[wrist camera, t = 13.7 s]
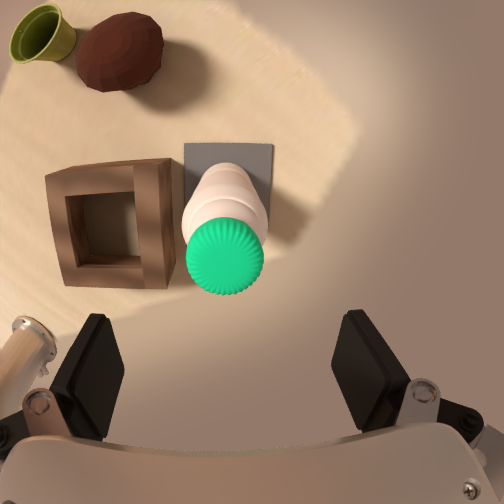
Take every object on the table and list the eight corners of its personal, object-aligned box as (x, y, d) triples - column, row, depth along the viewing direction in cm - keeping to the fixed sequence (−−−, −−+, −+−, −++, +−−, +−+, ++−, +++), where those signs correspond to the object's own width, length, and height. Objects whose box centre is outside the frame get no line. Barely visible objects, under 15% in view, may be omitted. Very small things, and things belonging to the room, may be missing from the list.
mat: (267, 225, 43) (268, 226, 42) (186, 225, 42) (185, 226, 41) (271, 144, 38) (272, 144, 38) (184, 143, 37) (184, 143, 37)
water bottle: (243, 155, 38) (268, 189, 15) (256, 203, 41) (295, 298, 18) (193, 170, 38) (145, 227, 15) (208, 217, 41) (189, 326, 18)
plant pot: (57, 15, 25) (30, 1, 17) (97, 23, 27) (72, 5, 19) (31, 65, 28) (0, 59, 20) (68, 76, 30) (37, 68, 22)
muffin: (176, 24, 30) (164, -4, 20) (169, 93, 34) (152, 82, 25) (100, 34, 28) (71, 14, 19) (92, 100, 33) (58, 95, 23)
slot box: (175, 262, 44) (166, 289, 37) (85, 262, 42) (64, 286, 35) (170, 158, 38) (157, 164, 30) (72, 166, 36) (44, 175, 29)
